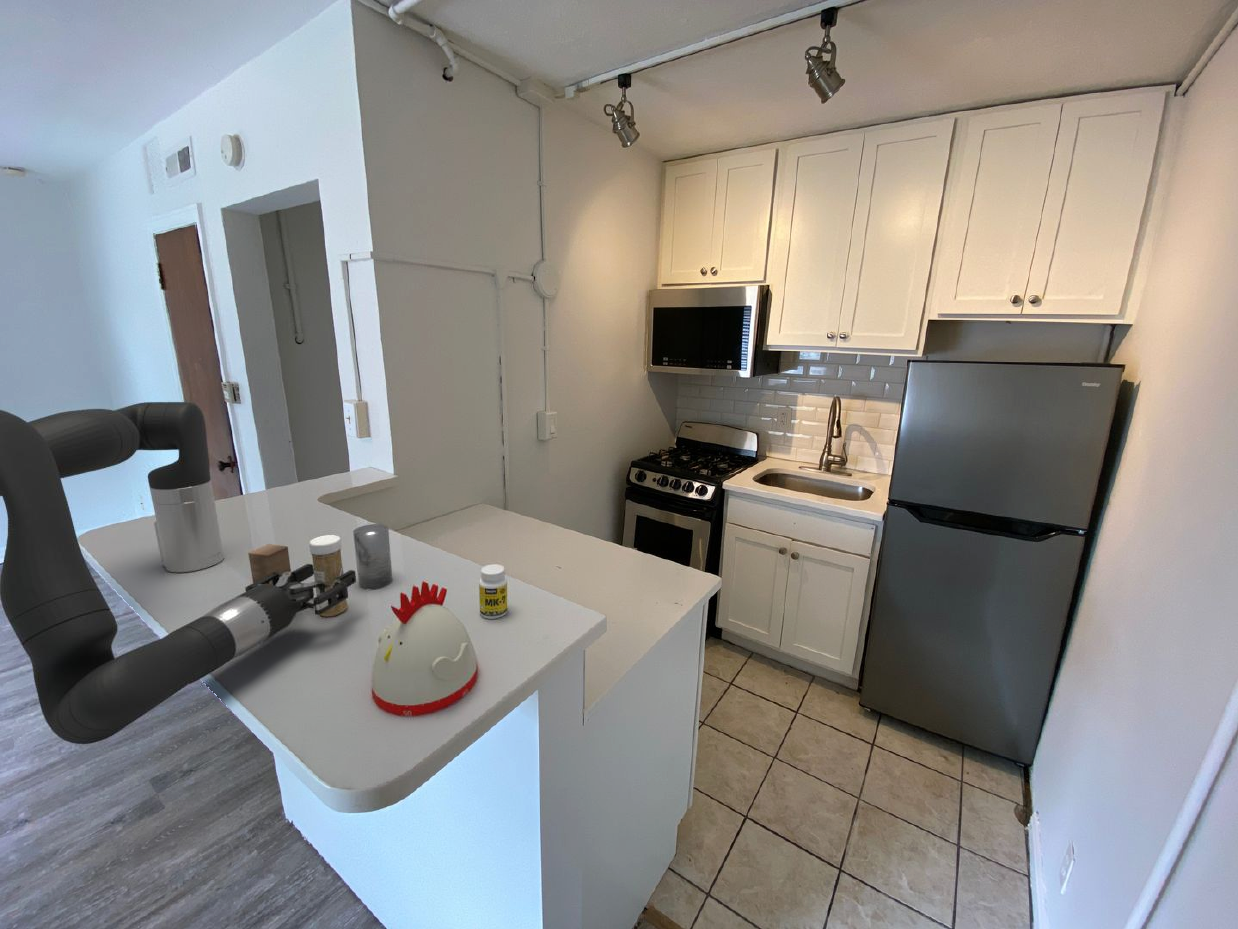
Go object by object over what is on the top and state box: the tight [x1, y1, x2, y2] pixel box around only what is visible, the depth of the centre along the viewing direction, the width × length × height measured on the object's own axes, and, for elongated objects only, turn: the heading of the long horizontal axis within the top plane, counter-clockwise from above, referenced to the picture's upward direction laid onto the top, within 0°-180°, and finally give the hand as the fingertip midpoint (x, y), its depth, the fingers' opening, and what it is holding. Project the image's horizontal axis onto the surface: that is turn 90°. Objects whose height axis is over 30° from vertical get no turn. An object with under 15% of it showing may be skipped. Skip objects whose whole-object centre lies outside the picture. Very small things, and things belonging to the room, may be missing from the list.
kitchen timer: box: [371, 580, 479, 717], centre depth 69 cm, size 14×14×15 cm
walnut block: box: [248, 543, 292, 584], centre depth 88 cm, size 4×4×10 cm
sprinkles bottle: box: [309, 534, 349, 617], centre depth 85 cm, size 5×5×14 cm
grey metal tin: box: [352, 523, 393, 590], centre depth 96 cm, size 6×6×11 cm
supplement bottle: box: [478, 564, 508, 620], centre depth 87 cm, size 5×5×8 cm
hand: (332, 572), depth 86 cm, fingers open, 8 cm apart
